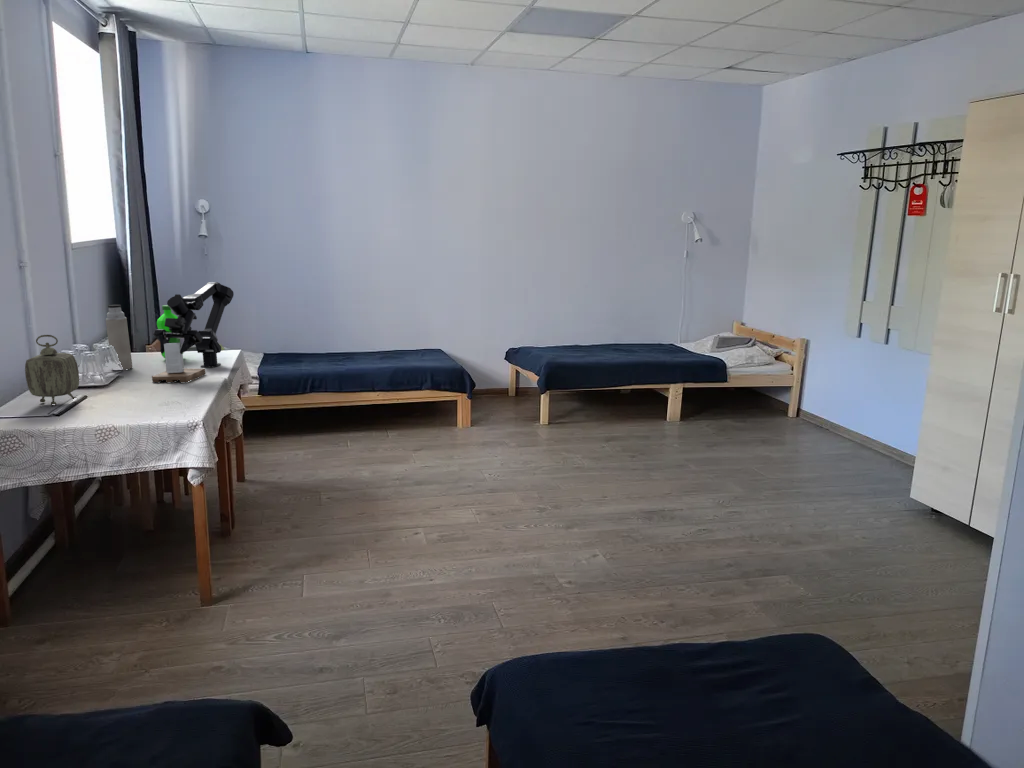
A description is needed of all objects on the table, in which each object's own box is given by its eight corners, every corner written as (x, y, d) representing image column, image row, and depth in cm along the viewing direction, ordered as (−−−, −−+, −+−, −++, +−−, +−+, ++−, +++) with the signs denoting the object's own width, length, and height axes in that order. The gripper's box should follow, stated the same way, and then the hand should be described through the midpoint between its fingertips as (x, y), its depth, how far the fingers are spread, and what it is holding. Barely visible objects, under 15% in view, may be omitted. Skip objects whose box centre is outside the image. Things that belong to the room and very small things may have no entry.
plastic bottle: (157, 359, 344) (151, 305, 339) (180, 356, 351) (175, 303, 346) (164, 362, 337) (158, 307, 332) (188, 359, 344) (182, 305, 338)
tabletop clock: (82, 400, 270) (73, 332, 264) (72, 406, 261) (62, 336, 256) (39, 402, 268) (28, 333, 262) (27, 408, 259) (16, 337, 253)
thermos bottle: (113, 367, 326) (105, 304, 320) (134, 366, 329) (126, 303, 322) (110, 371, 319) (102, 306, 312) (131, 370, 321) (123, 305, 315)
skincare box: (184, 371, 306) (182, 342, 304) (182, 372, 302) (179, 343, 300) (168, 372, 305) (166, 343, 303) (166, 373, 301) (163, 343, 299)
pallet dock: (173, 374, 313) (172, 368, 312) (205, 374, 312) (204, 368, 311) (152, 382, 297) (152, 376, 297) (186, 383, 296) (185, 376, 296)
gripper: (153, 309, 302) (139, 341, 294) (195, 310, 300) (182, 342, 292) (166, 325, 312) (153, 356, 304) (208, 326, 309) (196, 357, 301)
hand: (171, 353), depth 300 cm, fingers open, 8 cm apart
